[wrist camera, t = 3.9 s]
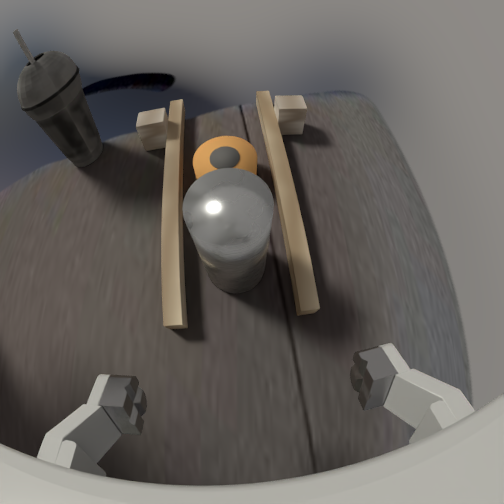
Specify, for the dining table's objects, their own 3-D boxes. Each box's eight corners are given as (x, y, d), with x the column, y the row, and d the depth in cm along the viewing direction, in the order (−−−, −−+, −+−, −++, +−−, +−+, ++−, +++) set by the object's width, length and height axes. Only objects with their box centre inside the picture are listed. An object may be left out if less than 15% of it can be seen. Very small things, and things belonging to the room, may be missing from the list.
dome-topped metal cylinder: (201, 288, 24) (172, 239, 15) (212, 235, 26) (194, 164, 17) (260, 297, 24) (268, 252, 14) (268, 242, 26) (277, 173, 16)
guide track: (137, 331, 22) (117, 324, 19) (151, 116, 32) (143, 93, 28) (347, 307, 23) (364, 296, 20) (291, 102, 33) (294, 77, 29)
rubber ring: (191, 198, 27) (185, 179, 25) (204, 153, 30) (201, 133, 27) (252, 205, 27) (252, 186, 24) (259, 158, 29) (260, 137, 27)
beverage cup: (114, 125, 32) (63, -2, 13) (111, 165, 29) (38, 19, 11) (68, 143, 31) (6, 31, 13) (61, 183, 28) (-25, 62, 10)
